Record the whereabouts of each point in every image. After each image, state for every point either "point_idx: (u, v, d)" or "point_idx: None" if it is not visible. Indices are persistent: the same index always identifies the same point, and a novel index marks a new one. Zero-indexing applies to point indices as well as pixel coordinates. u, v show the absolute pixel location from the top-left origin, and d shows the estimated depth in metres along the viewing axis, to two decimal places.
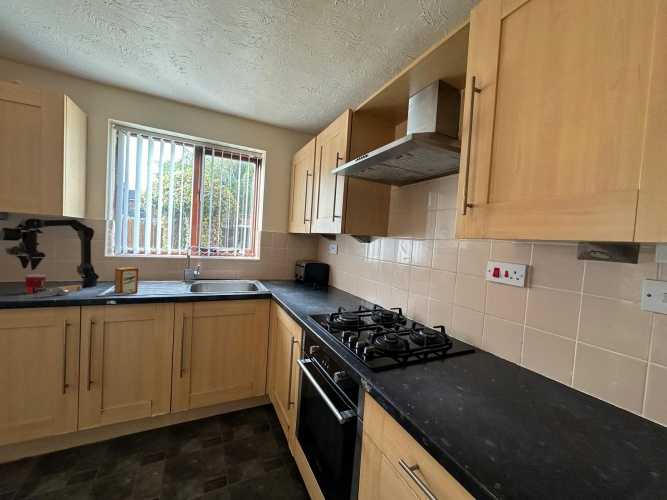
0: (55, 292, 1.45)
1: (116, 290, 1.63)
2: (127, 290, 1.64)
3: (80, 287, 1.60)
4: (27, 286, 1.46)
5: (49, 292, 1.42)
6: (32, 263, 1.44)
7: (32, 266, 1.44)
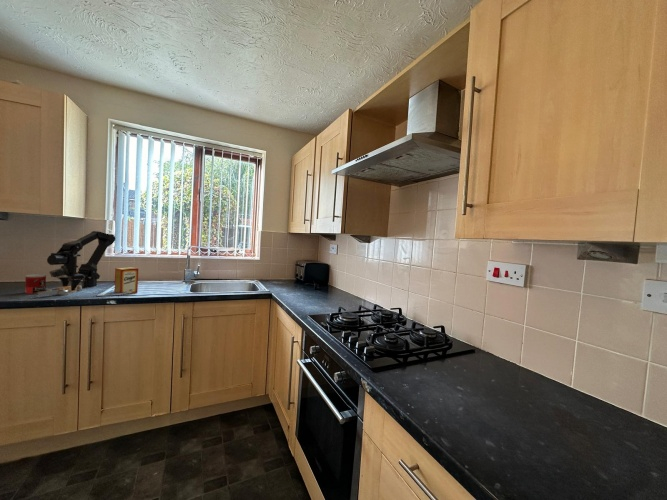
0: (55, 292, 1.45)
1: (116, 290, 1.63)
2: (127, 290, 1.64)
3: (80, 287, 1.60)
4: (27, 286, 1.46)
5: (49, 292, 1.42)
6: (72, 284, 1.58)
7: (72, 287, 1.58)
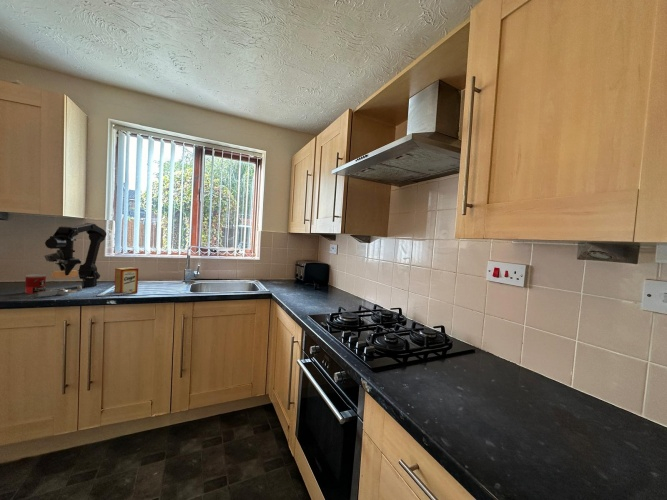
0: (55, 292, 1.45)
1: (116, 290, 1.63)
2: (127, 290, 1.64)
3: (80, 287, 1.60)
4: (27, 286, 1.46)
5: (49, 292, 1.42)
6: (66, 269, 1.52)
7: (66, 272, 1.52)
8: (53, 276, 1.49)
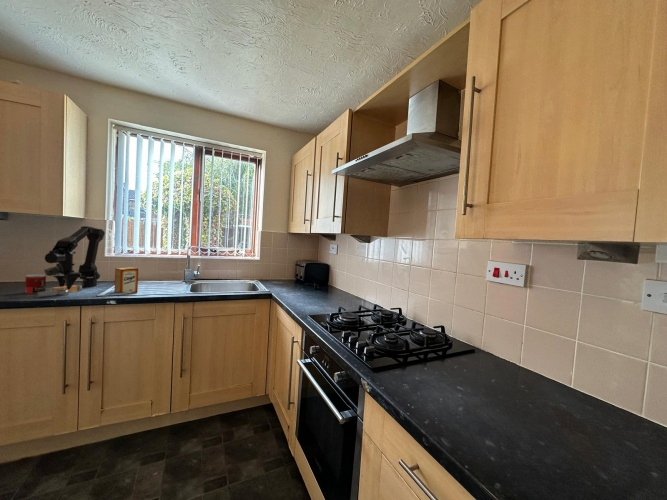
0: (55, 292, 1.45)
1: (116, 290, 1.63)
2: (127, 290, 1.64)
3: (80, 287, 1.60)
4: (27, 286, 1.46)
5: (49, 292, 1.42)
6: (68, 283, 1.51)
7: (68, 286, 1.52)
8: None
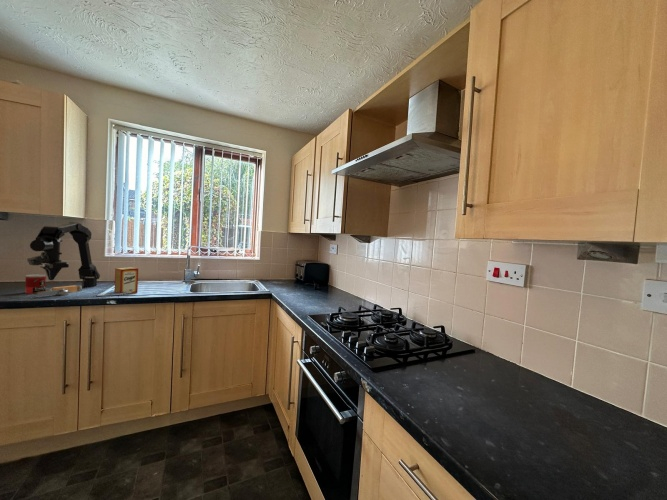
0: (55, 292, 1.45)
1: (116, 290, 1.63)
2: (127, 290, 1.64)
3: (80, 287, 1.60)
4: (27, 286, 1.46)
5: (49, 292, 1.42)
6: (51, 273, 1.38)
7: (51, 276, 1.38)
8: None
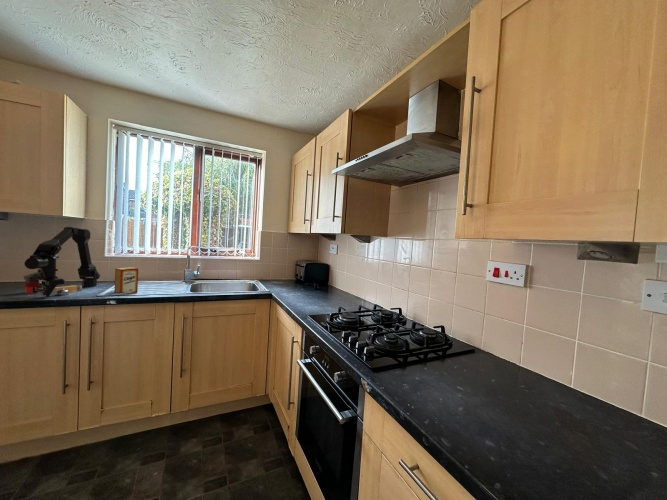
0: (55, 292, 1.45)
1: (116, 290, 1.63)
2: (127, 290, 1.64)
3: (80, 287, 1.60)
4: (27, 286, 1.46)
5: None
6: (47, 289, 1.39)
7: (47, 292, 1.40)
8: None
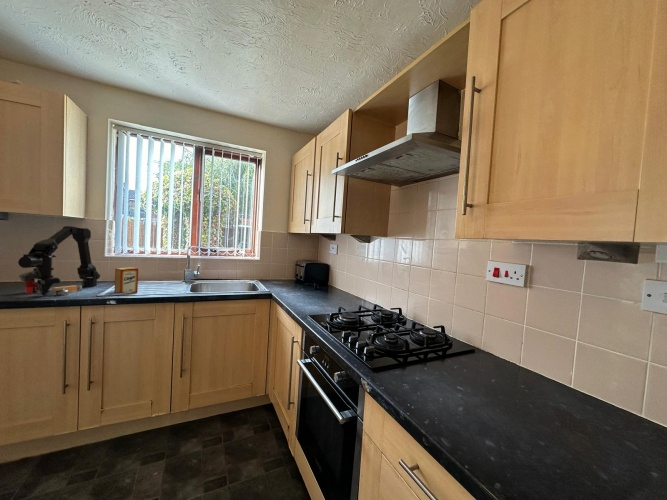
0: (53, 291, 1.45)
1: (116, 290, 1.63)
2: (127, 290, 1.64)
3: (80, 287, 1.60)
4: (27, 286, 1.46)
5: (47, 291, 1.44)
6: (42, 288, 1.41)
7: (42, 291, 1.41)
8: None
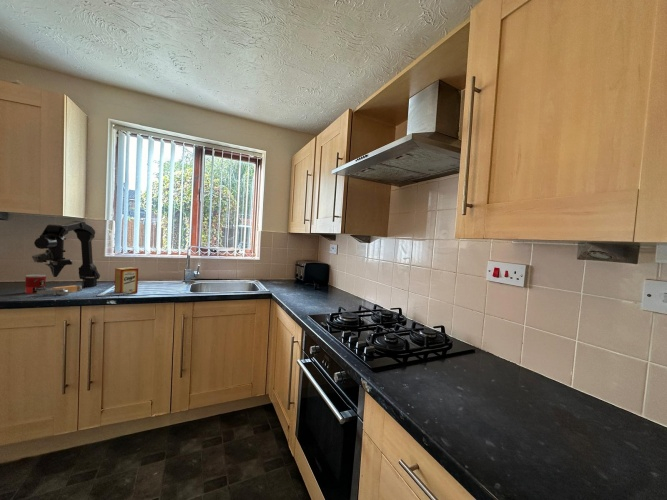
0: (53, 291, 1.45)
1: (116, 290, 1.63)
2: (127, 290, 1.64)
3: (80, 287, 1.60)
4: (27, 286, 1.46)
5: (47, 291, 1.44)
6: (54, 270, 1.42)
7: (54, 273, 1.42)
8: None
